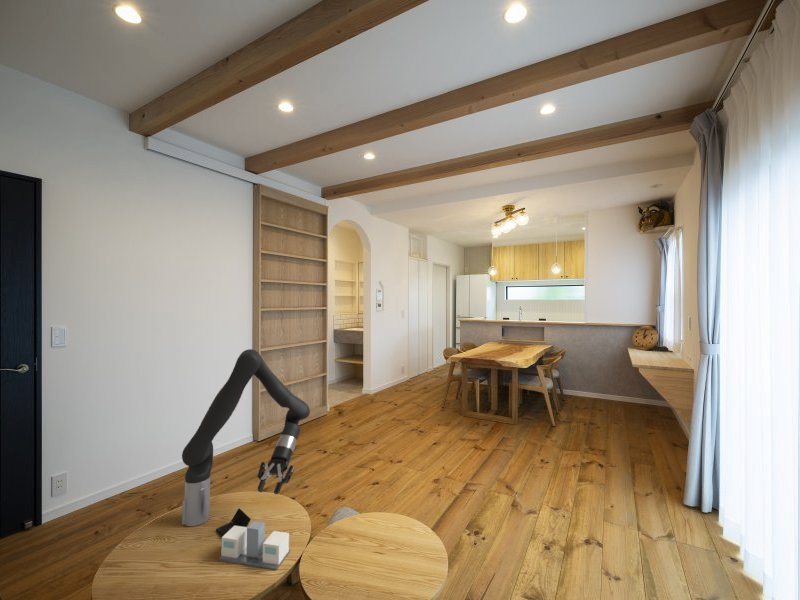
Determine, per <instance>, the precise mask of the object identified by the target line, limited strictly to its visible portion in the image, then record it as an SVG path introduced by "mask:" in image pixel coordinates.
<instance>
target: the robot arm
mask: <svg viewBox="0 0 800 600" xmlns="http://www.w3.org/2000/svg"><path fill="white" fill-rule="evenodd" d="M253 376H255V377H256V378H257V379H258V380H259V381H260V383H261V384H262V385H263V387H264V389H265V391H266V392H267V393H268V394H269V396H270V397H271V398H272V399H273V401H275V402H276V404H278V405H279V406H280V407H281V408H287V409H288V410H287V412H286V413H285V414H286V415H285V419H284V426H283V429H282V431H281V434H280V435H279V438H278V441H277V442H276V445H275V448H274V450H273V452H272V454H271V457H270V460H269V461H268V462H265V461H264V462H263V461H262V462H261V463H260V466H259V469H258V473H257V479H259V480H260V481H259V483H258V486H257V491H258V493H262V492H263V490H264V488H265V485H266V482H267V480H268V479H270V478H271V477H272V476H278V478H277V479H278V482H276V485H275V489H274V490H273V493H274V495H279V493H280V492H281V490H282V487H283V485H284V484H288V483H290V480H291V478H292V477H293V476H292V475H293V474H294V472H295V467H294V466H293V465H289V463H290V462H291V459H292V457H293V453H294V451H295V447H296V445H297V440H298V438H299V436H300V432H301V426H300V425H299V423H300V421H303V420H305V419H307V418H309V416H310V414H311V409H310V407H309V405H308V403H306V402H305V401H304V400H302V399H301V398H299V397H298V396H296V395H294V394H293V393H292V392H291V390H289V388H288V387H286V385H285V384H284V383H283V382H282V381H281V380H280V379H279V378H278V377H277V376H276V375H275V373H273V371H272V370H271V369H270V368H269V366H268V365H267V363H266V361H264V359H263V357H262V356H261V354H260V352H258V351H257V350H255V349H253V348H252V349H250V348H249V349H246V350H244V351H242V352H240V354H239V356H238V357H237V359H236V362H235V364H234V367H233V368H232V371H231V373H230V376H229V377H228V379H227V381H226V382H225V383H224V385H223V386H222V387H221V388H220V389H219V391H218V392H217V394H216V396H215V397H214V398H213V401H212V402H211V404H210V406H209V407H208V410H207V411H206V413H205V414H204V417H203V418H202V420H201V422H200V425H199V426H198V429H197V430H196V431H195V433H194V434H193V436H192V437H191V439H190V440H189V441H188V443H187V444H186V445H185V447H184V448H183V450H182V452H181V459H182V462H183V464H184V465H185V466H187V467H188V468H187V470H186V472H185V474H184V498H183V500H182V507H181V508H182V509H181V510H182V511H181V512H182V513H181V526H187V527H198V526H200V525H202V524H204V523H206V522H207V521H208V520H209V519H210V512H211V505H210V504H211V471H212V469H213V465H214V464H213V463H214V445H213V440H214V439H215V437H216V436H217V435H218V433H219V432H220V431H221V429H222V428H224V426H225V425H226V423H227V422H228V421H229V419H230V418H231V417H232V415H233V413H234V412H235V410H236V408H237V406H238V404H239V402H240V399H241V397H242V396H243V393H244V391H245V388H246V387H247V385H248V383H249V382H250V380H251V379H252V378H253ZM286 471H287V472H286ZM285 472H286V473H285Z"/></svg>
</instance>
